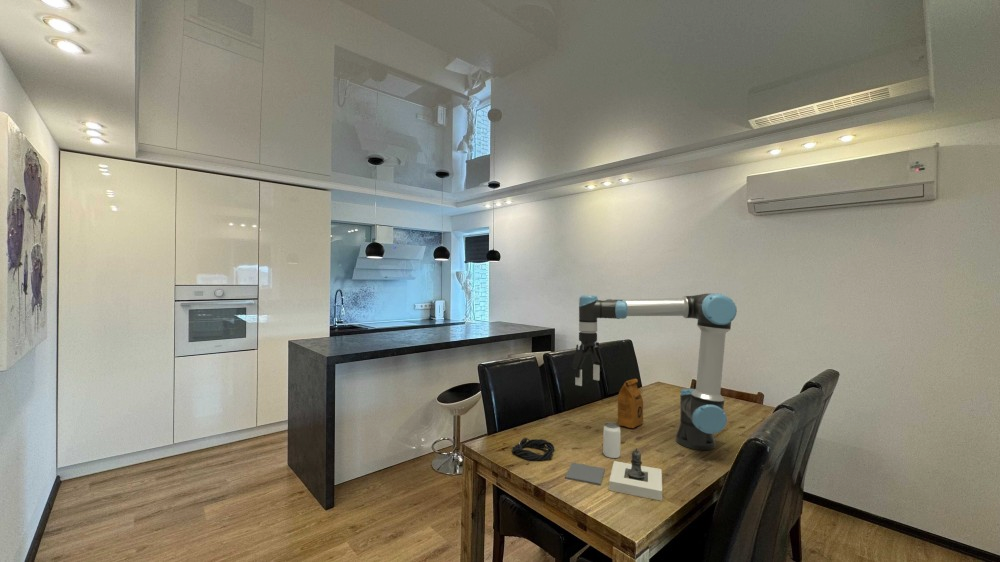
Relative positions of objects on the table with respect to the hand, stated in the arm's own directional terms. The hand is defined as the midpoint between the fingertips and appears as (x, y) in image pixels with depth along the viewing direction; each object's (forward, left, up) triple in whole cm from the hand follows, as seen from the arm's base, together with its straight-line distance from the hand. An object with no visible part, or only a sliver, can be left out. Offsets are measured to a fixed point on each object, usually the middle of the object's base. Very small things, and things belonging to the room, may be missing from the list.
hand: (587, 382), depth 162 cm
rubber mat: (-3, +26, -26) cm, 37 cm away
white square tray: (-20, +26, -26) cm, 42 cm away
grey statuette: (-20, +26, -27) cm, 42 cm away
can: (-10, +6, -27) cm, 29 cm away
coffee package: (-15, -33, -27) cm, 46 cm away
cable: (+19, +17, -27) cm, 37 cm away
